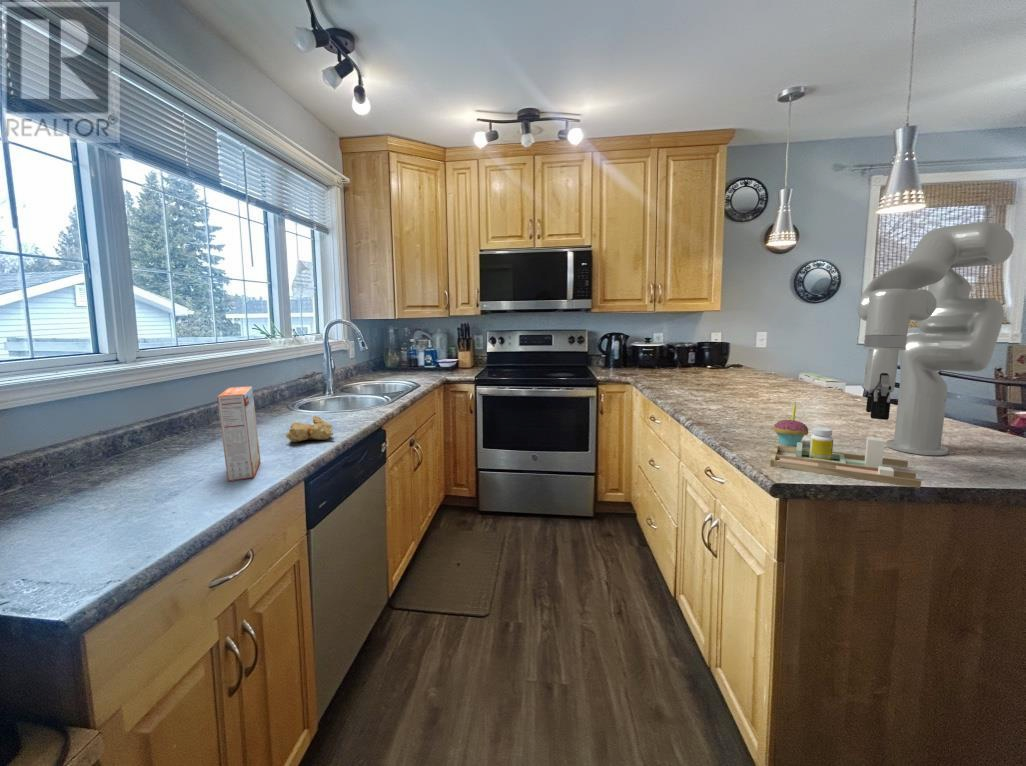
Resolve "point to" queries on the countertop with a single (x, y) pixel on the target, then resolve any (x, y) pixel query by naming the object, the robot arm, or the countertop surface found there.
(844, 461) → the green handled square frame
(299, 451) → the countertop surface
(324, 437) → the ginger root
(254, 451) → the cracker box
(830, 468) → the lane rails
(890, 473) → the broken strip
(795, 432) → the cupcake
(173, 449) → the countertop surface
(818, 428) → the supplement bottle
